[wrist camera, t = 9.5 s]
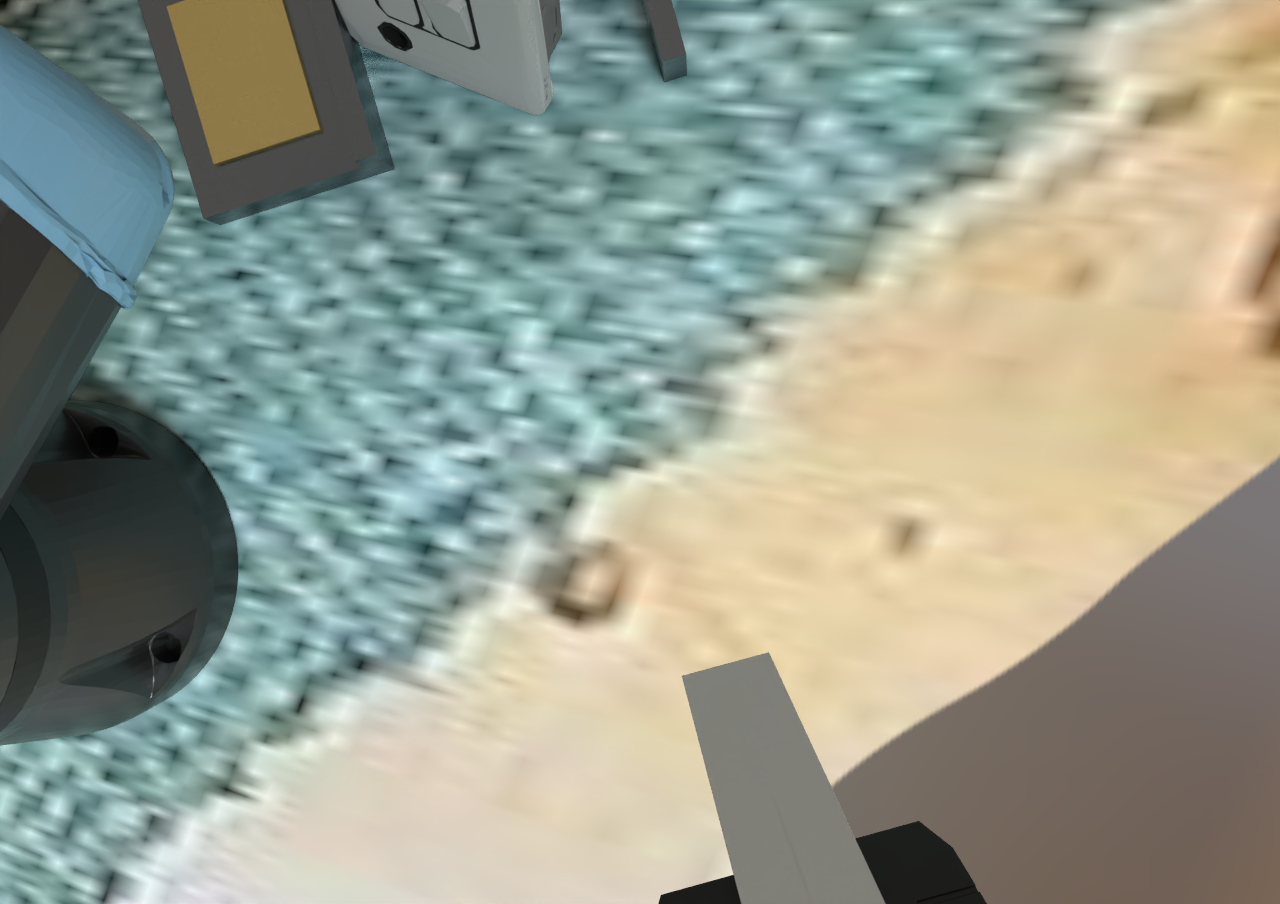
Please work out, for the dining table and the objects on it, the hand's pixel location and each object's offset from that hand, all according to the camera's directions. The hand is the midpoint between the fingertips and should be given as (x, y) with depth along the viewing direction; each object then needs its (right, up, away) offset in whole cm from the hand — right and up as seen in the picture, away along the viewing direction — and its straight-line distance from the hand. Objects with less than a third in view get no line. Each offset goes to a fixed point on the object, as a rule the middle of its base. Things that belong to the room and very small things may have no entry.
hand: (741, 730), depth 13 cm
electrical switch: (-9, +24, +21) cm, 33 cm away
